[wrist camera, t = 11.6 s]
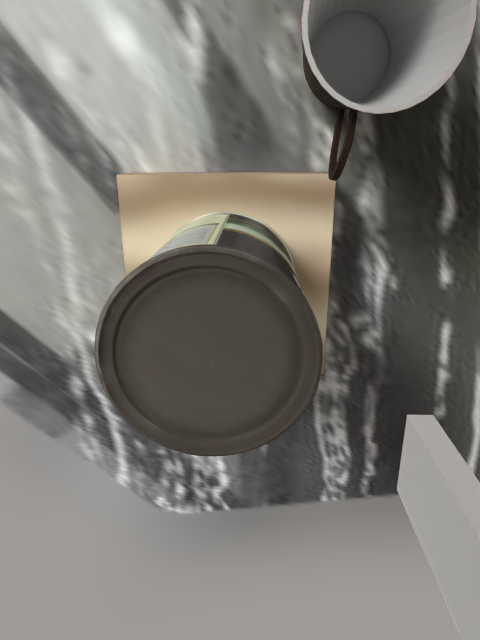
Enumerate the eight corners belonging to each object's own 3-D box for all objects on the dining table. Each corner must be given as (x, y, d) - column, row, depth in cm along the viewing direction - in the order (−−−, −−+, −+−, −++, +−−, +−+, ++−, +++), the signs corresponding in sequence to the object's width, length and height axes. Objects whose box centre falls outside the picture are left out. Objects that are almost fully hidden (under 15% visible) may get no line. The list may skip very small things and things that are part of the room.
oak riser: (131, 172, 35) (116, 174, 31) (327, 171, 35) (336, 173, 31) (145, 351, 40) (134, 372, 36) (316, 352, 40) (323, 373, 36)
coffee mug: (344, -45, 30) (386, -136, 21) (436, 46, 32) (514, 0, 22) (236, 107, 33) (230, 89, 24) (325, 183, 35) (351, 193, 26)
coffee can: (303, 214, 32) (339, 256, 19) (287, 349, 35) (308, 465, 22) (156, 203, 32) (88, 237, 19) (155, 339, 35) (97, 449, 22)
